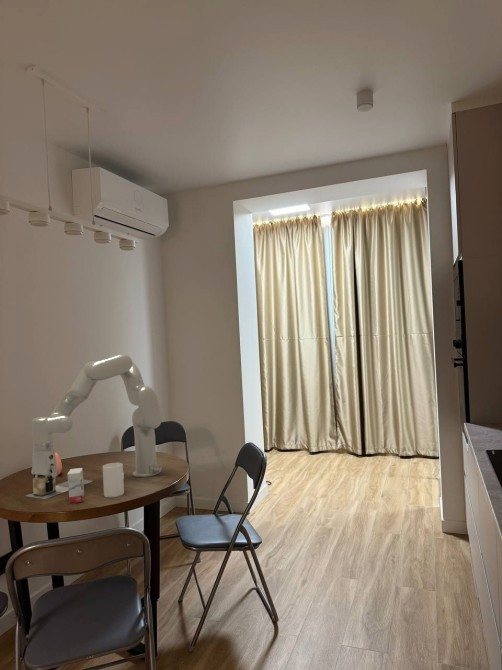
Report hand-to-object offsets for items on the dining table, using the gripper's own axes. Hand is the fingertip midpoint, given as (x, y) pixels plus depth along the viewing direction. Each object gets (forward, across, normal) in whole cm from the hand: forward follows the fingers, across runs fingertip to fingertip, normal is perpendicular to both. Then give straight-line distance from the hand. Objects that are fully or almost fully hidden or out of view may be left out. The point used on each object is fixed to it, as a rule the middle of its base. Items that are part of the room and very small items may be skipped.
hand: (44, 490), depth 198 cm
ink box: (+3, -18, -1) cm, 18 cm away
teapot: (+3, +24, -22) cm, 33 cm away
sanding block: (+1, 0, 0) cm, 1 cm away
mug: (+3, -26, -13) cm, 29 cm away
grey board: (+2, 0, -8) cm, 8 cm away
